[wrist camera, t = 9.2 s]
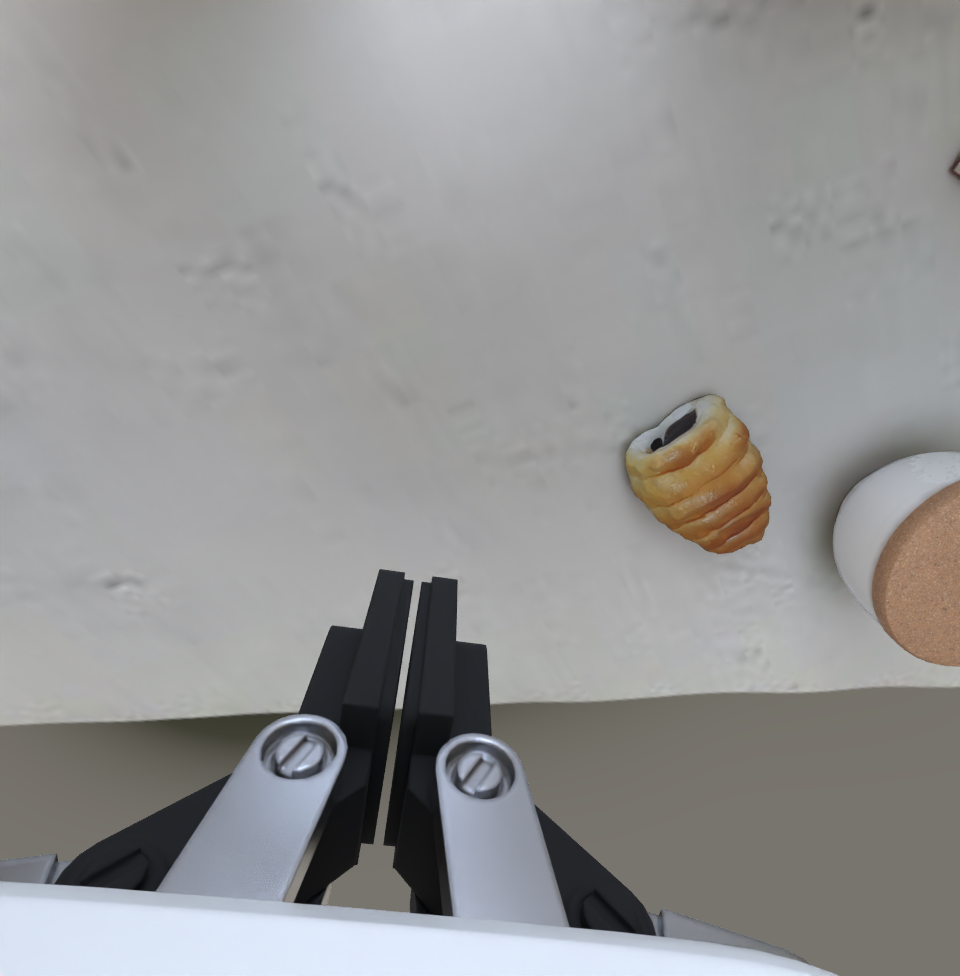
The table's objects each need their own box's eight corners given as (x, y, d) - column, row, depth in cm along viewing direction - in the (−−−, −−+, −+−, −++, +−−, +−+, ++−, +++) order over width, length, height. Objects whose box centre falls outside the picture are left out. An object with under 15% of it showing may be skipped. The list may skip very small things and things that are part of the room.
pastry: (785, 501, 34) (822, 529, 31) (689, 564, 36) (713, 597, 32) (705, 380, 31) (735, 395, 28) (604, 453, 33) (620, 477, 29)
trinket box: (778, 475, 34) (887, 550, 25) (963, 395, 32) (1148, 444, 23) (821, 613, 37) (930, 720, 29) (990, 547, 36) (1159, 639, 27)
